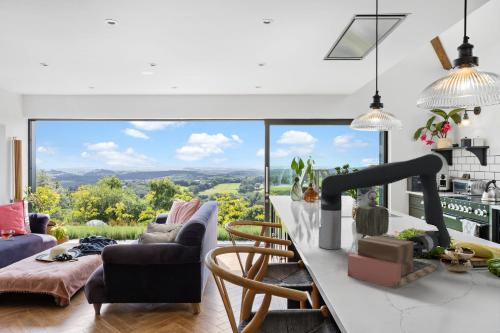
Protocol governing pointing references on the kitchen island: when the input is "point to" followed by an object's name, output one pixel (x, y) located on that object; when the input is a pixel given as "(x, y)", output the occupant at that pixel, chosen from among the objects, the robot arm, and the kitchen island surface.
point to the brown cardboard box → (388, 251)
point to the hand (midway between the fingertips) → (399, 251)
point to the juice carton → (365, 195)
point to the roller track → (385, 270)
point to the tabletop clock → (372, 219)
